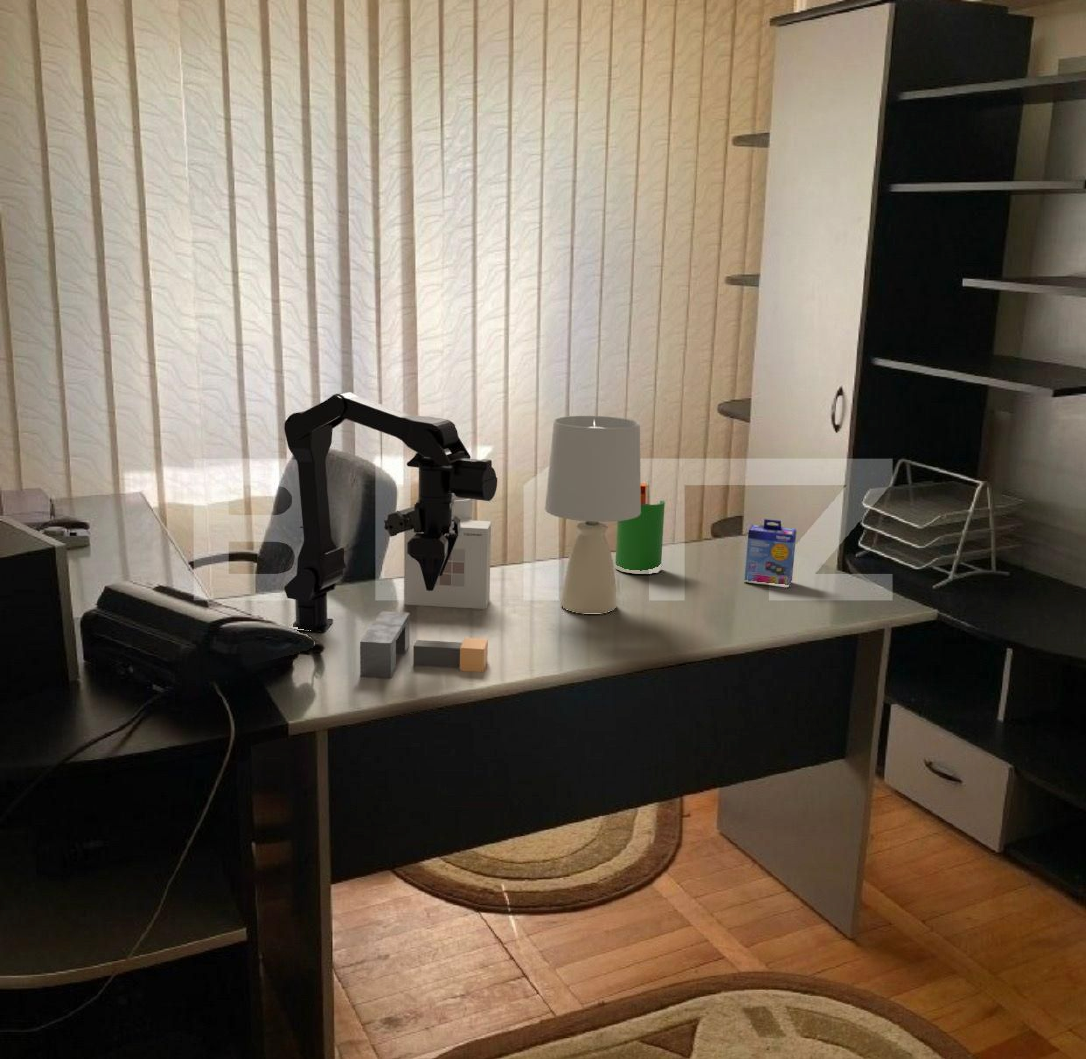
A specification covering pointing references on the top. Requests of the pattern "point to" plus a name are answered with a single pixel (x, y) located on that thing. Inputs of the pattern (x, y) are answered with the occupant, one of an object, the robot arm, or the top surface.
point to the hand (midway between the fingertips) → (434, 582)
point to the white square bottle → (455, 566)
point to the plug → (452, 654)
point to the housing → (384, 644)
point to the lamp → (593, 500)
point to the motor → (641, 537)
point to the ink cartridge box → (770, 553)
